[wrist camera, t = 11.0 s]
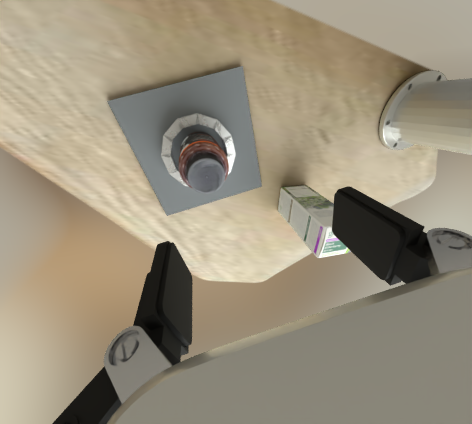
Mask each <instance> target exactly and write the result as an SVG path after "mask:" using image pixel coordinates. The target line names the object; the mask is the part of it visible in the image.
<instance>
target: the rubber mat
mask: <svg viewBox="0 0 472 424" xmlns="http://www.w3.org/2000/svg"><path fill="white" fill-rule="evenodd" d="M107 102H108V104H109V106H110V108H111V110H112V112H113V114H114V116H115V117H116V119H117V121H118V123H119V125H120V127H121V129H122V131H123V133H124V135H125V136H126V138H127V140H128V142H129V144H130V146H131V148H132V150H133V152H134V154H135V156H136V157H137V159H138V161H139V163H140V165H141V167H142V169H143V171H144V173H145V175H146V176H147V178H148V180H149V182H150V184H151V186H152V188H153V190H154V192H155V194H156V196H157V197H158V199H159V201H160V203H161V205H162V207H163V209H164V211H165V213H166V215H167V216H168V215H171V214H174V213H178V212H181V211H184V210H187V209H191V208H194V207H197V206H200V205H204V204H207V203H210V202H213V201H216V200H220V199H223V198H226V197H229V196H233V195H236V194H239V193H242V192H246V191H249V190H252V189H255V188H258V187H262V184H261V178H260V171H259V165H258V159H257V153H256V146H255V140H254V134H253V128H252V121H251V115H250V109H249V103H248V96H247V90H246V84H245V78H244V71H243V66H241V67H237V68H233V69H229V70H225V71H221V72H218V73H214V74H210V75H206V76H202V77H198V78H195V79H191V80H187V81H183V82H179V83H175V84H171V85H168V86H164V87H160V88H156V89H152V90H148V91H145V92H141V93H137V94H133V95H129V96H125V97H121V98H118V99H114V100H110V101H107ZM194 113H199V114H202V115H205V116H208V117H212V118H215V119H217V120H218V121H219V122H220V123H221V124H222V125H223V126H224V128H225V129H226V130H227V131H228V132H229V133H230V134H231V135H232V140H233V144H234V149H235V153H236V156H235V159H234V162H233V166H232V169H231V172H230V173H229V174H228V176H227V178H226V180H225V181H224V183H223V185H222V186H221V188H220V189H219V190H217V191H215V192H213V193H209V194H203V193H199V192H197V191H195V190H194V189H192V188H190V187H188V186H184V185H183V184H181V183H180V182H179V181H178V180H176V179H175V178H174V177H172V176H171V175H170V174H169V172H168V170H167V168H166V166H165V163H164V161H163V159H162V157H161V152H162V143H163V135H164V134H165V132H166V131H167V130H168V129H169V128H170V126H171V125H172V124H173V123H174V122H175V120H176V119H177V118H179V117H183V116H187V115H190V114H194ZM194 132H204V133H207V134H209V135H210V136H212V137H213V138H214V139H215V140H216V141H217V143H218V144H219V146H220V147H221V148H222V150H223V151H224V153H225V148H224V144H223V140H222V137H221V136H220V135H219V134H218V133H217V132H216V131H215V130H214V129H213V128H210V127H207V126H203V125H200V124H196V125H192V126H189V127H185V128H182V130H181V131H180V132H179V133H178V134H177V135H176V137H175V138H174V139H173V144H172V152H171V153H172V155H173V157H174V160H175V162H176V165H177V166H178V167H179V156H180V148H181V144H182V142H183V140H184V139H185V138H186V137H187V136H188V135H189V134H191V133H194Z"/></svg>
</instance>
